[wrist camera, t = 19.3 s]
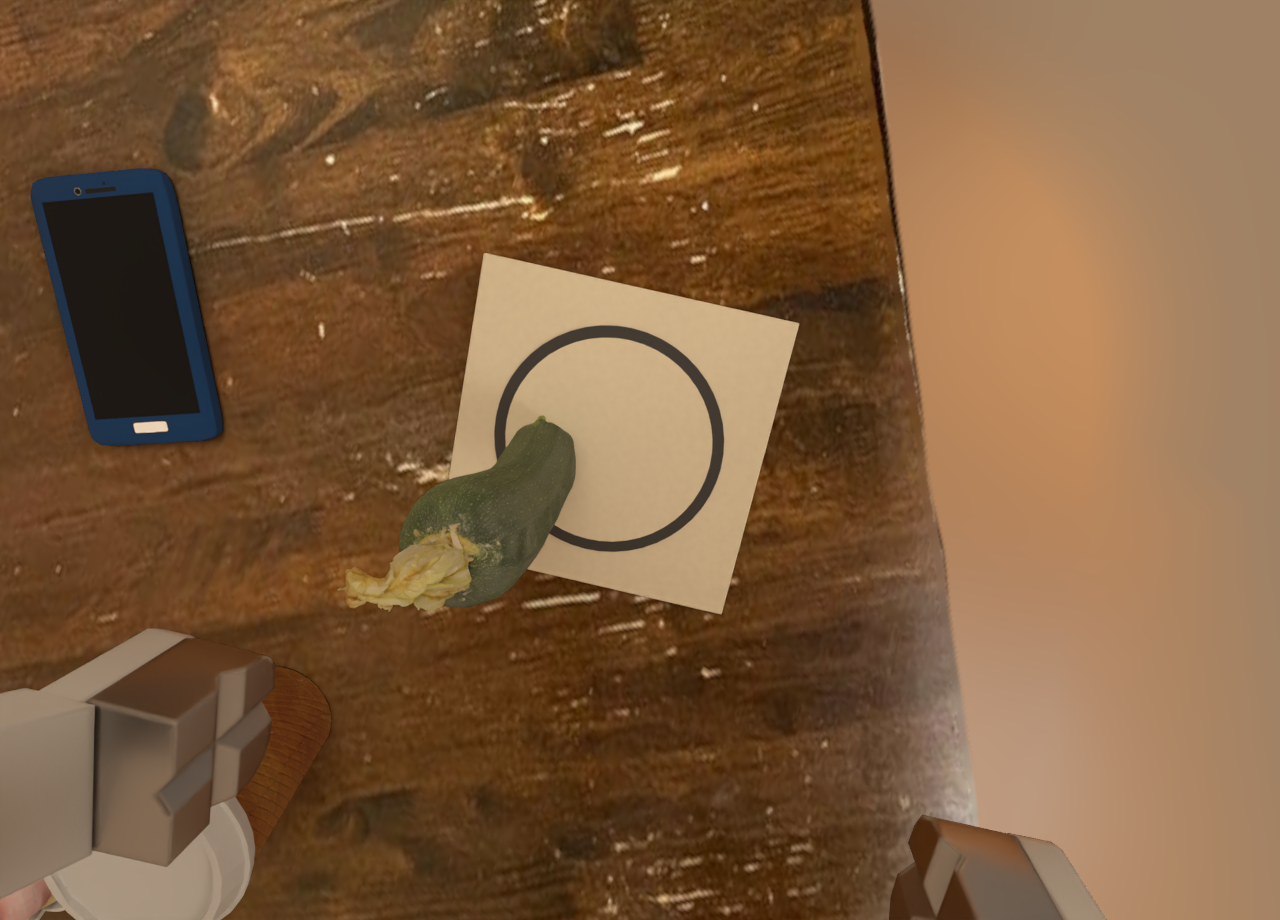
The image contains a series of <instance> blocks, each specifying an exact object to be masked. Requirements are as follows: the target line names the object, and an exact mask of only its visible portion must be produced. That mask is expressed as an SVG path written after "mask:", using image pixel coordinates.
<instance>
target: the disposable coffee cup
mask: <svg viewBox="0 0 1280 920" xmlns="http://www.w3.org/2000/svg"><path fill="white" fill-rule="evenodd" d="M262 703H263V705H264V707H265V708H266V710H267V712H268V714H269V716H270V717H271V719H272V723H271V733H270V739H269V743H268V746H267V750H266V753H265V756H264V758H263V760H262V762H261V764H260V765H259V767H258V769H257V771H256V773H255V774H254V776H253V778H252V780H251V781H250V782H249V783H248V784H247V785H246V786H245V787H244V788H243V790H242V791H241V792H240V793H239V794H238V795H237V796H236V797H235V798H232V799H230V800H227V801H225V802H222V803H220V804H217V805H215V806H212V807H211V811H210V824H209V825H208V826H207V827H206V828H205V829H204V830H203V831H202V832H201V833H200V834H199V835H198V836H197V837H196V838H195V839H194V840H193V841H192V842H191V843H190V844H189V845H188V846H187V847H186V848H185V849H184V851H183V852H182V853H181V854H180V855H179V856H178V857H177V858H176V859H175V860H174V861H173V862H172V863H171V864H170V865H169V866H168V867H163V866H159V865H155V864H150V863H146V862H141V861H137V860H132V859H128V858H123V857H119V856H115V855H110V854H106V853H101V852H97V851H92V854H91V855H90V856H88V857H86V858H84V859H82V860H80V861H78V862H76V863H74V864H72V865H70V866H68V867H66V868H64V869H62V870H60V871H58V872H55V873H53V874H51V875H49V876H47V877H45V878H44V880H45V882H46V884H47V886H48V888H49V890H50V891H51V893H52V894H53V896H54V897H55V899H56V900H57V901H58V903H59V904H60V905H61V906H62V907H63V908H64V909H65V910H66V911H67V912H68V913H69V914H70V915H71V916H72V917H74V918H75V919H76V920H221V919H222V918H224V917H225V916H226V915H228V914H229V913H230V912H231V911H232V910H233V909H234V907H235V906H236V905H237V903H238V902H239V901H240V900H241V898H242V897H243V895H244V893H245V891H246V888H247V886H248V884H249V881H250V876H251V871H252V868H253V866H254V862H255V860H254V859H255V858H257V856H258V854H259V853H260V851H261V848H262V847H263V846H264V844H265V843H266V841H267V840H266V839H267V838H268V837H269V836H270V834H271V832H272V829H273V828H274V827H275V826H276V824H277V823H278V819H280V817H281V815H282V813H283V812H284V811H283V810H285V809H286V807H287V805H288V803H289V801H290V800H291V798H292V797H293V795H294V793H295V792H296V790H297V788H298V786H299V784H300V783H301V781H302V780H303V778H304V776H305V774H306V773H307V771H308V769H309V768H310V766H311V764H312V763H313V762H312V761H314V759H315V757H316V756H317V754H318V752H319V751H320V749H321V746H323V744H324V742H325V741H326V739H327V737H328V735H329V732H330V728H331V713H330V709H329V705H328V703H327V701H326V699H325V697H324V695H323V694H322V692H321V691H320V690H319V688H318V687H317V686H316V685H315V684H314V683H313V682H312V681H310V680H309V679H308V678H306V677H305V676H303V675H301V674H300V673H298V672H296V671H293V670H291V669H287V668H283V667H275V689H274V690H273V691H271V692H270V693H269V694H268V695H267V696H266V697H265V698H264V699H263V700H262Z"/></svg>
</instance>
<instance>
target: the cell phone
mask: <svg viewBox="0 0 1280 920" xmlns="http://www.w3.org/2000/svg"><path fill="white" fill-rule="evenodd" d="M31 201H32V205H33V209H34V213H35V217H36V221H37V225H38V229H39V233H40V237H41V241H42V245H43V249H44V253H45V257H46V261H47V265H48V269H49V273H50V277H51V281H52V285H53V289H54V293H55V297H56V301H57V305H58V309H59V313H60V317H61V321H62V324H63V328H64V332H65V336H66V340H67V344H68V348H69V352H70V356H71V360H72V364H73V368H74V372H75V376H76V380H77V384H78V388H79V392H80V396H81V400H82V404H83V408H84V412H85V416H86V420H87V424H88V428H89V431H90V434H91V437H92V439H93V440H94V441H95V442H97V443H99V444H100V445H109V446H123V445H140V444H157V443H173V442H190V441H205V440H209V439H213V438H215V437H217V436H219V435H220V434H221V433H222V430H223V423H222V414H221V410H220V405H219V400H218V395H217V390H216V385H215V381H214V376H213V371H212V366H211V361H210V357H209V352H208V347H207V342H206V337H205V332H204V328H203V323H202V318H201V313H200V308H199V304H198V299H197V294H196V289H195V284H194V279H193V275H192V270H191V265H190V260H189V255H188V250H187V246H186V241H185V236H184V231H183V226H182V222H181V217H180V212H179V207H178V202H177V198H176V194H175V191H174V187H173V183H172V182H171V180H170V179H169V177H168V176H167V174H166V173H164V172H162V171H160V170H157V169H129V170H119V171H108V172H98V173H88V174H77V175H67V176H57V177H48V178H44V179H40V180H37V181H36V182H34V183H33V184H32V189H31Z"/></svg>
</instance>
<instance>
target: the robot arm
mask: <svg viewBox="0 0 1280 920" xmlns="http://www.w3.org/2000/svg"><path fill="white" fill-rule="evenodd" d="M275 667H276V665H275V663H274V662H273V661H272V659H271V658H270V657H269V656H266V655H262V654H259V653H255V652H251V651H247V650H244V649H240V648H236V647H232V646H228V645H225V644H221V643H217V642H213V641H210V640H206V639H202V638H198V637H197V638H195V637H193V636H191V635H187V634H182V633H178V632H174V631H170V630H165V629H161V628H160V629H146V630H145V631H143V632H141V633H139V634H138V635H136V636H134V637H132V638H131V639H129V640H127V641H125V642H124V643H122V644H120V645H118V646H117V647H115V648H113V649H111V650H109V651H108V652H106V653H104V654H102V655H101V656H99V657H97V658H95V659H94V660H92V661H90V662H88V663H87V664H85V665H83V666H81V667H80V668H78V669H76V670H74V671H73V672H71V673H69V674H67V675H65V676H64V677H62V678H60V679H58V680H57V681H55V682H53V683H51V684H50V685H48V686H46V687H44V688H43V689H41V690H39V691H36V690H32V689H28V688H23V689H18V690H13V691H9V692H4V693H0V899H2V898H4V897H6V896H8V895H10V894H12V893H14V892H16V891H19V890H21V889H23V888H25V887H27V886H29V885H31V884H33V883H35V882H37V881H39V880H41V879H43V878H45V877H47V876H49V875H51V874H53V873H55V872H58V871H60V870H62V869H64V868H66V867H68V866H70V865H72V864H74V863H76V862H78V861H80V860H82V859H84V858H86V857H88V856H90V855H91V854H92V851H97V852H101V853H106V854H110V855H115V856H119V857H123V858H128V859H132V860H137V861H141V862H146V863H150V864H155V865H159V866H163V867H168V866H169V865H170V864H171V863H172V862H173V861H174V860H175V859H176V858H177V857H178V856H179V855H180V854H181V853H182V852H183V851H184V849H185V848H186V847H187V846H188V845H189V844H190V843H191V842H192V841H193V840H194V839H195V838H196V837H197V836H198V835H199V834H200V833H201V832H202V831H203V830H204V829H205V828H206V827H207V826H208V825H209V824H210V811H211V807H212V806H215V805H217V804H220V803H222V802H225V801H227V800H230V799H232V798H235V797H236V796H237V795H238V794H239V793H240V792H241V791H242V790H243V788H244V787H245V786H246V785H247V784H248V783H249V782H250V781H251V780H252V778H253V776H254V774H255V773H256V771H257V769H258V767H259V765H260V764H261V762H262V760H263V758H264V756H265V753H266V750H267V746H268V743H269V739H270V733H271V723H272V719H271V717H270V716H269V714H268V712H267V710H266V708H265V707H264V705H263V703H262V700H263V699H264V698H265V697H266V696H267V695H268V694H269V693H270V692H271V691H273V690H274V689H275ZM908 843H909V846H910V849H911V852H912V855H913V858H914V860H915V862H914V863H913V864H911V865H910V866H908V867H907V868H905V869H904V870H903V871H901V872H900V873H898V875H897V878H896V882H895V885H894V888H893V892H892V895H891V900H890V913H889V920H1107V919H1106V918H1105V916H1104V915H1103V913H1102V912H1101V910H1100V908H1099V907H1098V905H1097V904H1096V902H1095V901H1094V899H1093V897H1092V896H1091V895H1090V893H1089V892H1088V890H1087V888H1086V886H1085V885H1084V883H1083V882H1082V880H1081V879H1080V877H1079V875H1078V874H1077V872H1076V871H1075V869H1074V868H1073V866H1072V864H1071V863H1070V862H1069V860H1068V858H1067V857H1066V855H1065V854H1064V852H1063V850H1061V849H1060V848H1059V847H1058V846H1056V845H1055V844H1053V843H1052V842H1050V841H1045V840H1040V839H1035V838H1030V837H1026V836H1021V835H1015V834H1011V833H1007V834H1006V833H1002V832H997V831H993V830H988V829H984V828H980V827H975V826H971V825H966V824H962V823H957V822H953V821H948V820H944V819H940V818H935V817H931V816H926V815H922V816H921V817H920V818H919V820H918V821H917V822H916V824H915V825H914V828H913V831H912V834H911V837H910V839H909V842H908Z"/></svg>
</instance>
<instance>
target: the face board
mask: <svg viewBox="0 0 1280 920" xmlns="http://www.w3.org/2000/svg"><path fill="white" fill-rule="evenodd" d="M798 327H799V323H796V322H791V321H787V320H783V319H778V318H774V317H769V316H765V315H760V314H756V313H751V312H747V311H742V310H738V309H734V308H729V307H725V306H720V305H716V304H711V303H707V302H702V301H698V300H693V299H689V298H684V297H680V296H676V295H671V294H667V293H662V292H658V291H653V290H649V289H644V288H640V287H635V286H631V285H626V284H622V283H618V282H613V281H609V280H604V279H600V278H595V277H591V276H586V275H582V274H577V273H573V272H568V271H564V270H560V269H555V268H551V267H546V266H542V265H537V264H533V263H528V262H524V261H519V260H515V259H511V258H506V257H502V256H497V255H493V254H488V253H484V255H483V261H482V268H481V274H480V281H479V287H478V293H477V300H476V306H475V313H474V319H473V325H472V332H471V338H470V344H469V351H468V357H467V364H466V370H465V376H464V383H463V389H462V396H461V402H460V408H459V415H458V421H457V427H456V434H455V440H454V447H453V453H452V459H451V466H450V472H449V479H452V478H455V477H459V476H464V475H468V474H473V473H477V472H481V471H484V470H488V469H490V468H492V467H493V466H494V465H495V464H496V462H497V460H498V459H499V457H500V456H501V454H502V453H503V451H504V450H505V448H506V447H507V446H508V445H509V443H510V442H511V440H512V438H513V437H514V435H515V434H516V432H517V431H518V430H519V429H520V428H522V427H523V426H525V425H529V424H532V423H534V422H535V421H536V420H537V418H538V417H539V416H545V418H546V421H547V422H552V423H554V424H556V425H557V426H559V427H560V428H561V429H563V430H564V431H566V432H567V433H569V434H570V435H571V437H572V439H573V441H574V449H575V457H576V474H575V480H574V484H573V486H572V489H571V491H570V492H569V494H568V496H567V499H566V501H565V503H564V505H563V507H562V509H561V512H560V514H559V517H558V519H557V521H556V523H555V525H554V526H553V528H552V529H551V531H550V532H549V535H548V537H547V539H546V542H545V544H544V545H543V547H542V549H541V550H540V552H539V553H538V555H537V556H536V558H535V559H534V560H533V562H532V563H531V565H530V566H529V567H528V568H527V569H529V570H533V571H537V572H541V573H546V574H550V575H554V576H558V577H563V578H567V579H571V580H576V581H580V582H584V583H588V584H593V585H597V586H601V587H606V588H610V589H614V590H618V591H623V592H627V593H631V594H636V595H640V596H644V597H648V598H653V599H657V600H661V601H665V602H670V603H674V604H678V605H683V606H687V607H691V608H695V609H700V610H704V611H708V612H713V613H717V614H722V611H723V607H724V603H725V600H726V596H727V592H728V588H729V585H730V581H731V577H732V573H733V570H734V566H735V562H736V559H737V555H738V551H739V547H740V544H741V540H742V536H743V532H744V529H745V525H746V521H747V517H748V514H749V510H750V506H751V503H752V499H753V495H754V491H755V488H756V484H757V480H758V476H759V473H760V469H761V465H762V461H763V458H764V454H765V450H766V447H767V443H768V439H769V435H770V432H771V428H772V424H773V420H774V417H775V413H776V409H777V405H778V402H779V398H780V394H781V390H782V387H783V383H784V379H785V376H786V372H787V368H788V364H789V361H790V357H791V353H792V349H793V346H794V342H795V338H796V334H797V331H798ZM449 479H448V480H449Z"/></svg>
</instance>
